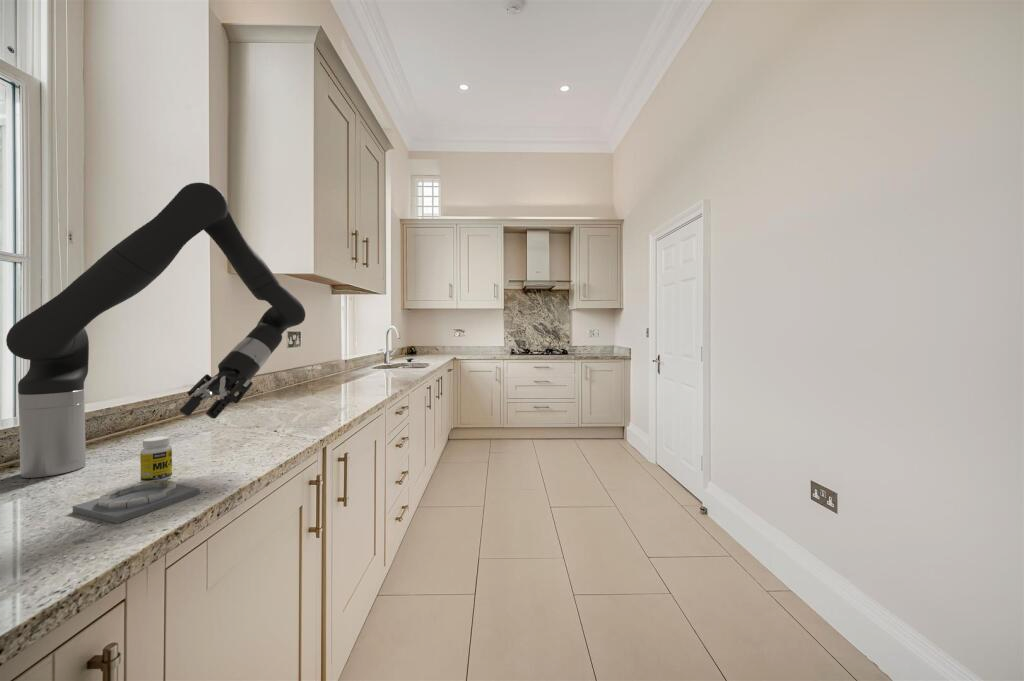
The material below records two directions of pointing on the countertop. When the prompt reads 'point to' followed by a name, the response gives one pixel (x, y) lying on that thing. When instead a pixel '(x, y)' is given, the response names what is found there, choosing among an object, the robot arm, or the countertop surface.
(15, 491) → the countertop surface
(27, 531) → the countertop surface
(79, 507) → the slate board
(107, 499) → the ring collar
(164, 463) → the supplement bottle
